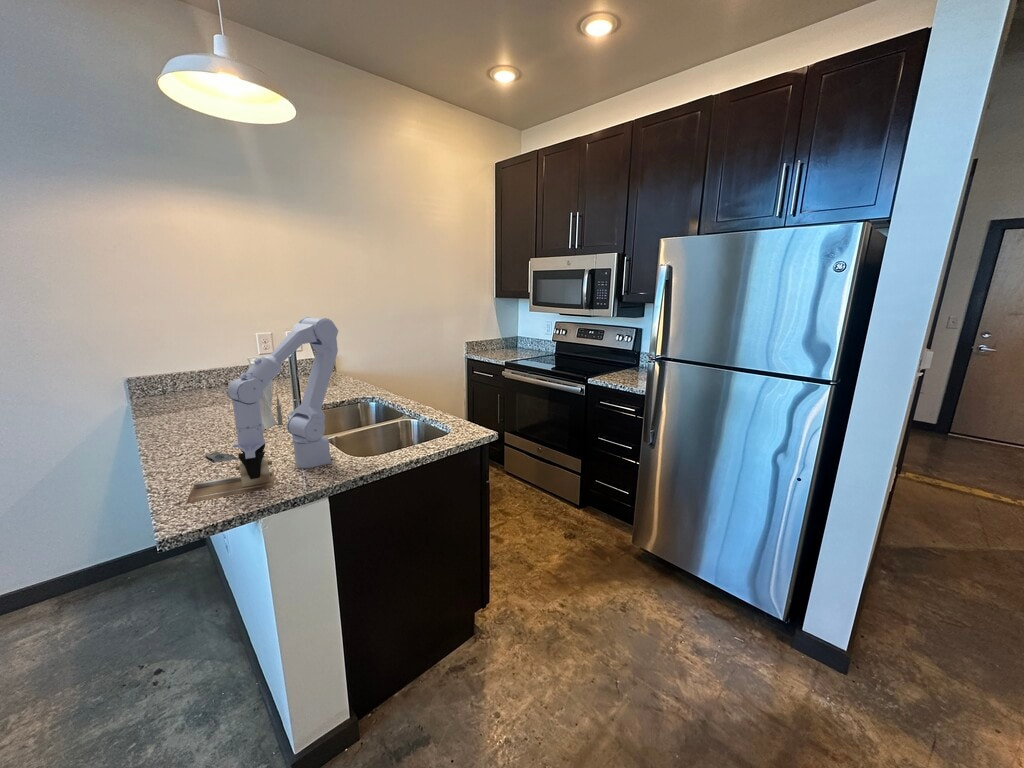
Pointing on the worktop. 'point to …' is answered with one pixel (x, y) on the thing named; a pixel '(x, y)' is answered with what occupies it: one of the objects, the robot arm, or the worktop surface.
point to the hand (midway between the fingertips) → (255, 474)
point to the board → (225, 488)
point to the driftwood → (221, 457)
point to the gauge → (263, 478)
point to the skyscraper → (268, 404)
